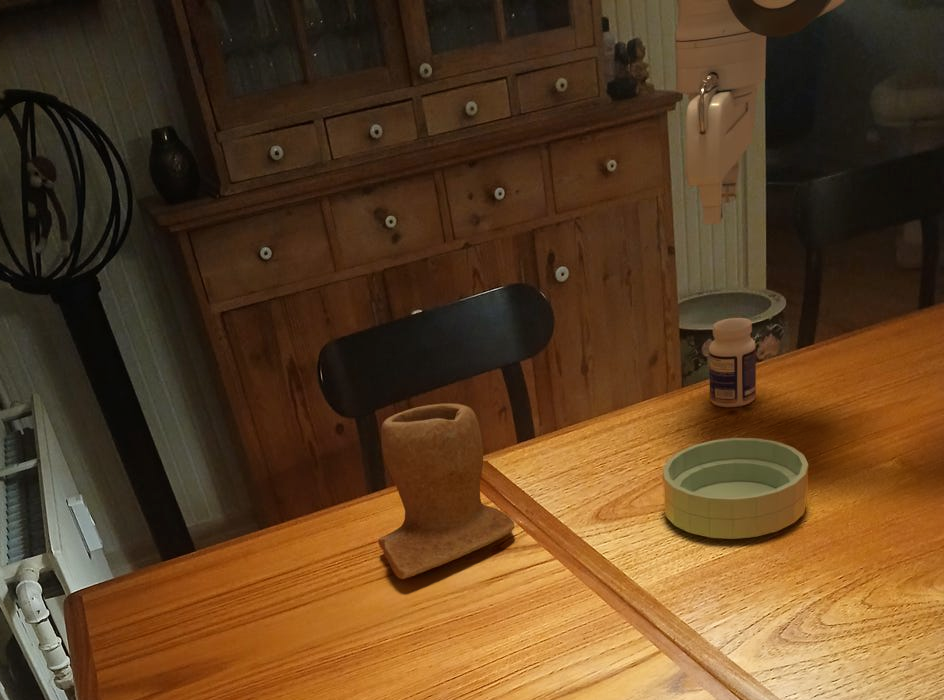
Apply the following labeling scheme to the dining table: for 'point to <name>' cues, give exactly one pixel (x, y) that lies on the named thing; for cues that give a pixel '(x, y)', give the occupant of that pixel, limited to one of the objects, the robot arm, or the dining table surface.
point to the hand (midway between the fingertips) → (720, 211)
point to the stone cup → (437, 488)
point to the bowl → (735, 487)
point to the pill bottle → (732, 363)
